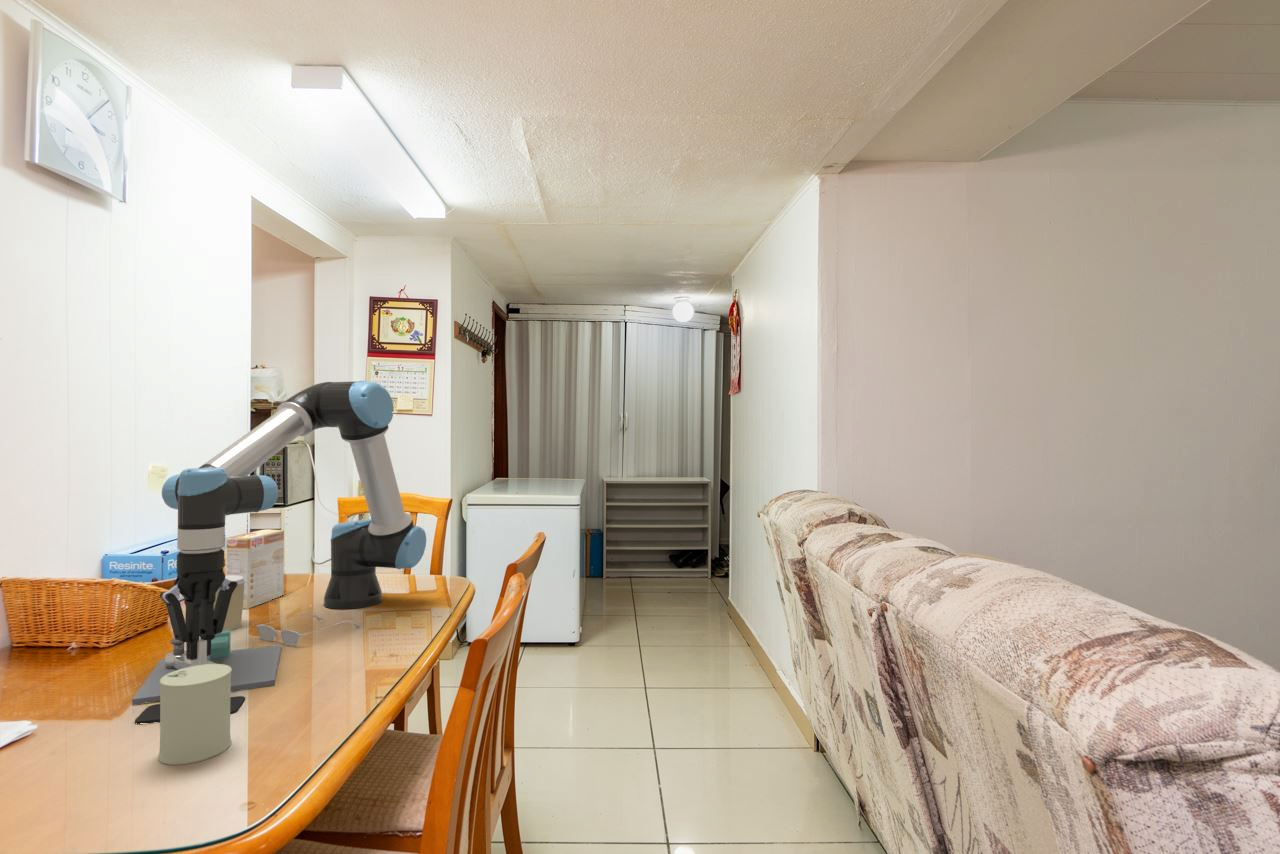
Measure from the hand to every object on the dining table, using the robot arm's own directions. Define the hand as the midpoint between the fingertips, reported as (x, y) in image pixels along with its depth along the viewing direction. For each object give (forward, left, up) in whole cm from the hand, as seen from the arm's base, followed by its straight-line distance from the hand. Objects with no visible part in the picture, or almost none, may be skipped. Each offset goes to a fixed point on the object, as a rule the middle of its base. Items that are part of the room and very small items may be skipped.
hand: (198, 674), depth 124 cm
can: (-4, +29, -3) cm, 29 cm away
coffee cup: (+1, -42, -3) cm, 43 cm away
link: (+2, -7, -1) cm, 8 cm away
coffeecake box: (-4, -67, -3) cm, 68 cm away
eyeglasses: (-19, -29, -3) cm, 35 cm away
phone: (-1, +12, -3) cm, 12 cm away
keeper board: (-2, -7, -2) cm, 8 cm away
